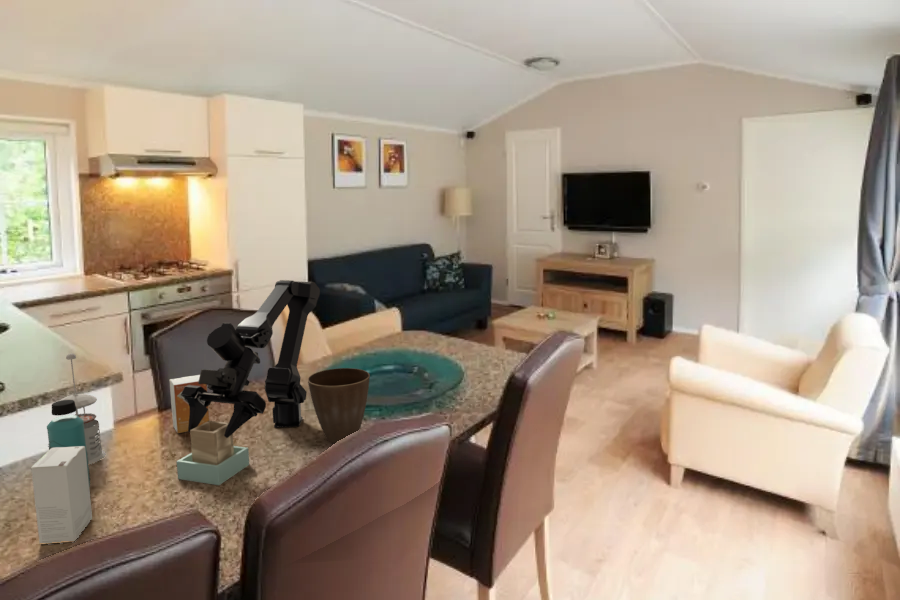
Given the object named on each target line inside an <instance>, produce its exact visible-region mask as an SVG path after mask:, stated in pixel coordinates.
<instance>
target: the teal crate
mask: <svg viewBox="0 0 900 600" xmlns="http://www.w3.org/2000/svg"><path fill="white" fill-rule="evenodd" d="M233 446H234V455H233V456H231V457H230V458H228V459H226V460H225V461H223V462H222V463H220V464H218V465H211V464H204V463H197V462H193V459H192V452H190V453H188V454H187V455H185V456H183V457H181V458H180V459H178V460H176V470H177V479H178V480H183V481H189V482H196V483H202V484H203V483H204V484H209V485H216V486H221V484H223V483H224V482H226V481H227V480H228V479H231V478H232V477H233V476H235V475H236V474H237V473H239V472H241V471H243V470H244V469H245V468H247V467H248V466H250V453H249V447H247V446H246V447H245V446H237V445H233Z"/></svg>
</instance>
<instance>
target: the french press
mask: <svg viewBox="0 0 900 600" xmlns="http://www.w3.org/2000/svg"><path fill="white" fill-rule="evenodd" d="M65 359H66V360H70V362H71V363H70V365H71V372H72V374H71V375H72V382H73V390H74V394H70V395H68V396H65V397H63V398H61V399H60V400H59V401H61V400H74V401H75V406H76V411H75V414H74V415H76V416H78V417H80V418H81V419H83V421H84V432H85V441H86V450H87V454H88V455H87V457H88V458H89V460H88V461H89V463H88V464H91V465H93V464H96V463H98V462H97V461H99V460H100V459H102V458H104V457H105V455H106V453H107V452H106V451H105V450H103V447H102V440H101V433H100V423H99V421H98V420H97V419H96V418H97V415H96V414H95V413H90V412H87V413H86V410H85V407H90V406H91V405H94V404H95V403H97V400H98V398H97V397H96V396H93V395H91V394H86V393H77V392H76V384H75V375H74V366H73V365H74V364H73V360H75V359H77V356H76V354H75V353H68V354H66V358H65ZM79 409H83V413H79V411H78V410H79ZM105 452H106V453H105ZM106 456H107V455H106ZM105 458H106V457H105ZM105 458H104V459H105ZM102 460H103V459H102ZM95 462H96V463H95ZM99 462H100V461H99ZM92 463H93V464H92Z"/></svg>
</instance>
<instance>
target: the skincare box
mask: <svg viewBox="0 0 900 600" xmlns="http://www.w3.org/2000/svg"><path fill="white" fill-rule="evenodd" d="M30 473H31V477H32V478H31V480H32V486H33V487H32V488H33V498H34V505H35V514H36V525H37V533H38V542H39V544H40V543H52V542H61V541H75V540H76V539H77V538H78V539H79V537H80V536H81V535H82V533H83V532H82V531H84V530H86V528H85V527H87V526H88V525H89V523H90V522H91V521H90V520H92V519H93V513H92V502H91V493H90V492H91V491H90V487H89V480H88V470H87V460H86V450H85V446H76V447H55V448H51V449H50V450H49V449H48V450H47V452H45V454H44V455H43V456H42V457H40V459H38V460H37V461H36V462H35V463H34V464H33V465H32V466H31V467H30ZM81 532H82V533H81ZM79 535H80V536H79ZM78 539H77V540H78ZM77 540H76V541H77ZM76 541H75V542H76Z"/></svg>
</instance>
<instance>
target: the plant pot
mask: <svg viewBox="0 0 900 600" xmlns="http://www.w3.org/2000/svg"><path fill="white" fill-rule="evenodd" d="M370 377H371V374H370V373H369V372H368V371H367V370H364V369H360V368H352V367H351V368H350V367H340V368H330V369H325V370H321V371H317V372H314V373H312V374H311V375H309V376H308V377H307V384H308V389H309V394H310V397H311V402H312V404H313V408H314V413H315V415H316V418H317V420H318V423H319V425H320V427H321V430H322V433H323V435H324V437H325V438H326V441H327V442H328V443H329V444H334V443H336V442H337V441H339V440H341V439H343V438H345V437H346V436H348V435H350V434H352V433H354V432H356V431H358V430H359V429H360V430H361V427H362V422H363V419H364V416H365V412H366V411H365V410H366V407H367V402H368V394H369V385H370ZM360 430H359V431H360Z"/></svg>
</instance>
